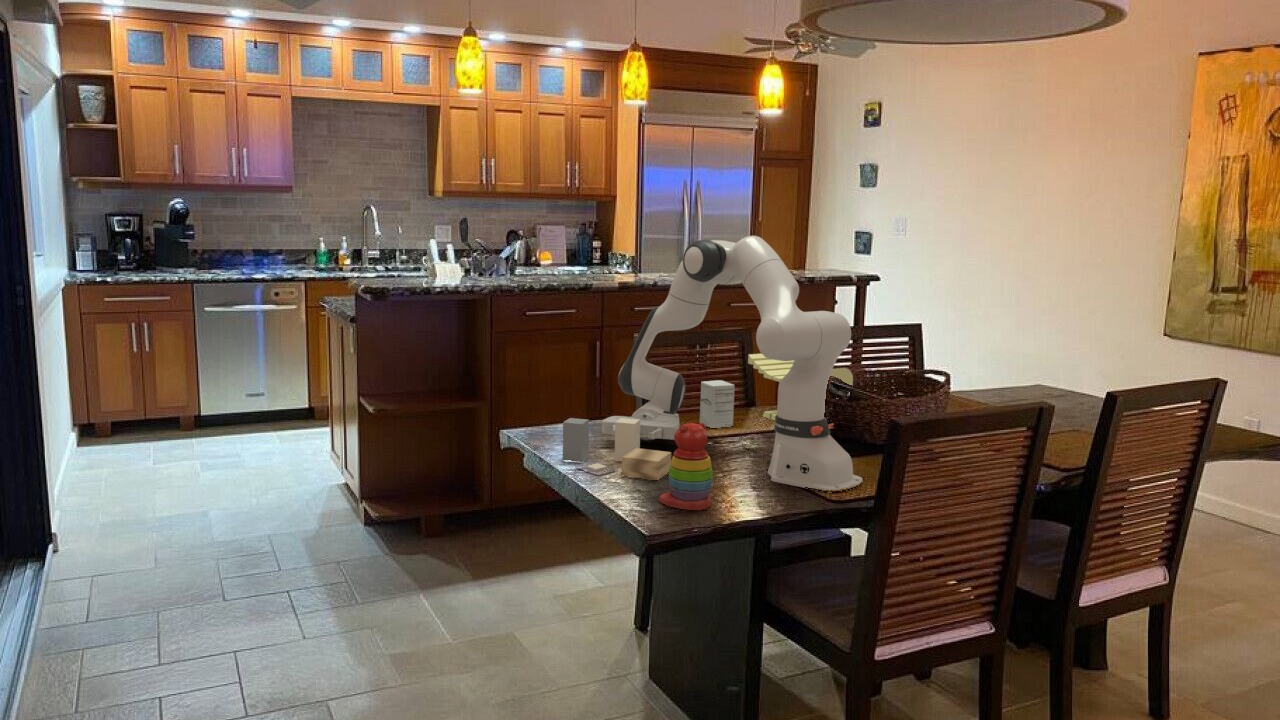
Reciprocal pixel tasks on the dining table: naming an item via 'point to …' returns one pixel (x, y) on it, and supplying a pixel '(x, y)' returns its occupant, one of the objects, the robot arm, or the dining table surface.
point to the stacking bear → (689, 470)
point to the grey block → (575, 439)
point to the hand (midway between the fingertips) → (633, 434)
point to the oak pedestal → (646, 463)
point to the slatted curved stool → (781, 368)
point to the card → (599, 467)
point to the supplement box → (717, 404)
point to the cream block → (626, 436)
